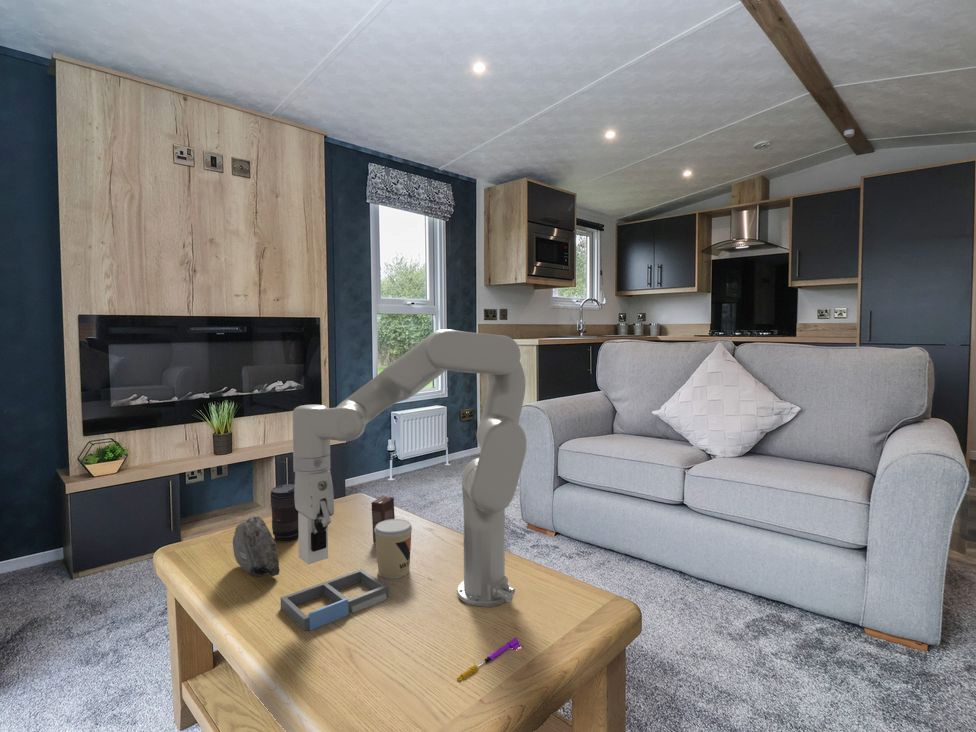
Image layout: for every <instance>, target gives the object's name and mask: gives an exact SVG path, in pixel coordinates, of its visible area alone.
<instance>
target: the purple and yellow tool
mask: <svg viewBox="0 0 976 732" xmlns="http://www.w3.org/2000/svg"><path fill="white" fill-rule="evenodd" d="M519 641H520V640H519V639H518V638H517V637H514V638H512V639H510V640H509V641H507V642H506V643H505V644H504V645H502V646H501V647H500V648H498V649H496V650H495V651H494V652H492V653H491V654H489V655H487V657H485V659H484V660H483V662H481V663H480V664H479V665H477V664H474V665H472V666H470V667H469V668H468V669H467V670H466V671H463V672H462V673H460V674H459V676H458V677H456V681H458V682H461V681H464V680H465V679H467V678H468V677H470V676H472V674H474V673H476V672H477V671H478V670H479V667H480V666H482V665H484V664H485V663H486V664H489V662H492V661H493V660H495V659H496V658H498V657H500V656H501V655H502V654H504V653H505V652H507V651H508V650H511V649H510V648H513V649H515V650H516V649H517V648H518V647H520V646H522V645H521V644H520V643H519ZM513 649H512V650H513ZM515 650H514V651H515Z"/></svg>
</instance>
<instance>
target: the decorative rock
mask: <svg viewBox="0 0 976 732" xmlns="http://www.w3.org/2000/svg"><path fill="white" fill-rule="evenodd" d="M232 549H233V555H234V558H235V561H236V563H237V564H238V565H239V566H240V568H241V569H242V570H243V571H244V572H247V573H248V574H249V575H251V576H253V577H262V576H264V575H266V574H267V575H269V576H271V577H275V576H278V575H280V567H279V566H280V561H279V557H278V556H279V555H278V554H279V551H278V548H277V545H276V540H275V538H273V534H272V533H271V531H270V529H269V528H268V526H267V524H266V522H265V521H264V519H262V518H261V517H260V516H259V515H257V516H251V517H249V518H248V519H247V520H244V521H242V522H241V523H239V524H238V525H236V527H235V530H234V536H233V537H232Z"/></svg>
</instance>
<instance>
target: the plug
mask: <svg viewBox="0 0 976 732" xmlns="http://www.w3.org/2000/svg"><path fill="white" fill-rule="evenodd" d="M319 516H321V514H318V515H317V517H319ZM319 522H321V520H318V521H316V523H317V525H318V523H319ZM328 526H329V525H328ZM328 526H327V531H326V548H325V549H321V550H318V551H315V552H313V551H311V533H313V530H312V519H310V518H309V517H307V516H305V515H303V514H302V513H300V512H299V513H298V529H299V537H298V559H300V560H301V561H303V562H304V563H305V564H307V565H311V564H314V563H316V562H321V561H324V560H327V559H329V540H328V539H329V538H328V537H329V536H328V535H329V534H328V533H329V532H328V530H329V529H328V528H329V527H328Z"/></svg>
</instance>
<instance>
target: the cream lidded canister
mask: <svg viewBox="0 0 976 732" xmlns="http://www.w3.org/2000/svg"><path fill="white" fill-rule="evenodd" d="M412 530H413V525H412V523H411V521H409V520H406V519H403V518H402V519H401V518H395V519H390V520H385V521H382V522H379V523H378V524H377V525H376V527H375V529H374V531H375V538H376V543H375V549H376V559H377V560H376V561H377V569H378V570H377V572H378V575H379V576H380V577H382V578H386V579H397V578H402V577H404V576H406V575H407V574H408V573H409V572H410V565H411V548H412Z"/></svg>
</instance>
